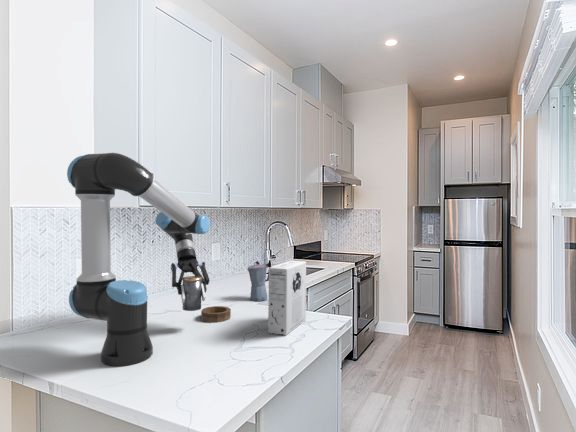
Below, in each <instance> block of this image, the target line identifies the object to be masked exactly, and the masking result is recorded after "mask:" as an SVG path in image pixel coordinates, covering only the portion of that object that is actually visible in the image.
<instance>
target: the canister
mask: <svg viewBox="0 0 576 432" xmlns="http://www.w3.org/2000/svg"><path fill="white" fill-rule="evenodd" d="M202 277H203V276H202ZM202 277H199V276H195V275H190V276H183V279H182V285H183V287H184V294H185V302H184V303H182V310H183V311H186V312H187V311H188V312H194V311H199V310H202V296H201V282H202Z"/></svg>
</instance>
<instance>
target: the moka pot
mask: <svg viewBox="0 0 576 432" xmlns="http://www.w3.org/2000/svg"><path fill="white" fill-rule="evenodd" d="M270 267H272V266H271V265H270V264H269V263H268V262H267V263H266V264H265V263H264V264H259V261H258V260H256V261H255V264H254V265H250V266H248V267H247V269H246V270H247V271H248V273H249V279H250V282H251V284H250V285H251V287H250V301H253V302H263V301H266V300H268V299H269V296H268V293H267V285H266V282H269V268H270ZM267 268H268V269H267ZM267 270H268V271H267Z"/></svg>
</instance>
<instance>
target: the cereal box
mask: <svg viewBox="0 0 576 432" xmlns="http://www.w3.org/2000/svg"><path fill="white" fill-rule="evenodd" d="M268 270H269V271H268V272H269V281H268V314H267V315H268V320H267V322H268V325H267V326H268V329H267V330H268V332H269V333H268V334H272V333H275V334H274V335H278V334H283V335H282V336H285V335H286V336H288V335H289V334H290V333H291V332H293V331H294V330H295V329H296V328H297V327H299V326H300V325H301V324H302V323H304V322H305V321H306V320H307V319H306V318H307V317H306V316H307V309H306V308H307V261H304V260H303V261H302V260H287V261H285V262H282V263H279V264H276V265H273V266H271V267H270V268H269V267H268ZM298 325H299V326H298ZM293 329H294V330H293ZM292 330H293V331H292ZM288 333H289V334H288ZM287 334H288V335H287Z"/></svg>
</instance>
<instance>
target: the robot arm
mask: <svg viewBox="0 0 576 432" xmlns="http://www.w3.org/2000/svg"><path fill="white" fill-rule="evenodd" d="M66 176H67V181H68V182H69V184H70V185H71V187H72V188H74V189H75V190H74V191H75V192H74V193H75V197H77V198H78V199H79V201H80V233H81V234H80V237H81V239H80V242H81V243H80V244H81V245H80V248H81V274H80V275H79V276H78V277H76V284H75V285H74V286H73V287H72V289H71V290H70V291H69V295H68V304H69V307H70V309H71V310H72V311H73V313H74V314H76V315H78V316H80V317H82V318H85V319H94V320H99V321H104V322H105V321H106V329H107V330H106V338H105V340H104V343H103V346H102V349H101V352H100V361H101V363H102V364H104V365H107V366H113V367H117V366H118V367H119V366H122V367H123V366H129V365H134V364H139V363H141V362H144V361H146V360H148V359H149V358H151V357H152V356H151V355H153V354H154V347H153V343H152V339H151V338H150V337H151V336H150V335H149V332H148V292H147V286H146V285H145V284H144V283H142V282H141V281H137V280H126V279H122V280H121V279H120V280H116V279H117V277H116V275H115V274H114V272H113V271H111V270H112V269H111V266H112V265H111V263H112V262H111V261H112V260H111V259H112V257H111V200H112V199H113V198H114V197H116V190H119V191H124V192H126V193H128V194H130V195H131V196H133V197H139V198H141V199H142V200H143V201H145V202H147V204H150V205H151V206H152V207H154V209H156V210H158V211H159V213H158V214H157V215H156V217H155V221H154V222H155V224H156V225H157V226H158V228H159V229H161V230H162V231H163V232H164V233H166V234H167V235H168V236H169V237H170V238H171V239H173V241H174V245H175V250H176V258H177V263H174V262H173V263H171V265H170V270H171V287H172V288H176V289H177V294H178V296H179V295H180V298H181V304H183V303H184V302H185V294H184V287H183V277H185V276H184V275H185V273H187V274H188V273H192V275H193V276H199V277H202V282H201V302H205V300H206V298H207V297H206V293H207V290H208V288H207V286H208V285H209V283H210V276H209V274H208V272H207V269H206V262H205V261H202V262H199V261H198V259H197V254H196V247H195V244H194V240H193V235H205V234H207V233H208V232H209V230H210V227H211V220H210V218H209V217H208V216H207V215H203V214H197V213H196V212H195V211H193V209H191V208H190V207H188V206H187V205H186V204H185V203H184V202H182V201H181V200H180V199H179V198H178V197H176V196H175V195H174V194H173V193H172V192H170V191H169V190H168V189H166V188H165V187H164V186H163V185H162V184H161V183H160V182H158V180H156V179H155V177H154V174H153V173H152V172H151V171H149V169H148V168H146V167H144V166H143V164H141V163H139V162H138V161H136V160H134V159H133V158H130V157H128V156H127V155H125V154H122V153H118V152H106V153H104V152H103V153H87V154H83V155H79V156H77V157H75V158H74V159H73V160H71V162H70V163H69V165H68V167H67V171H66ZM198 267H199V269H200V270H201V272H200V271H199V270H198ZM178 268H179V270H180V275H179V278H178V280H177V269H178Z"/></svg>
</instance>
